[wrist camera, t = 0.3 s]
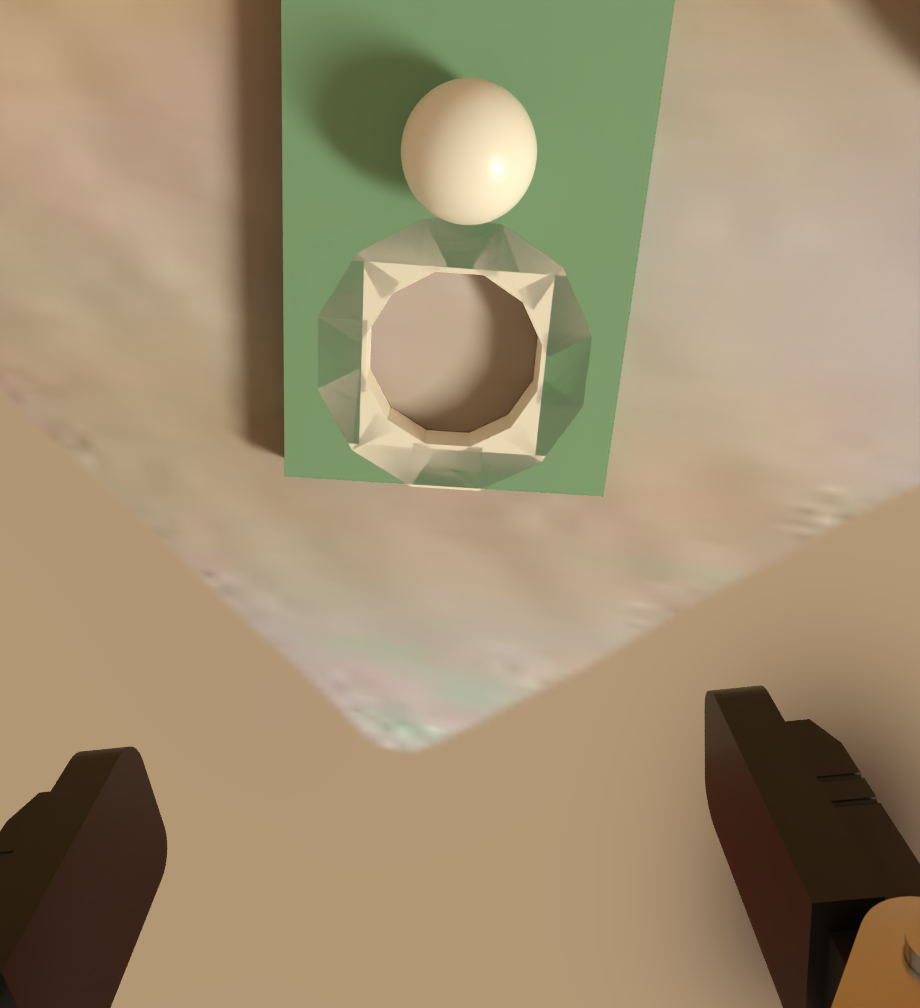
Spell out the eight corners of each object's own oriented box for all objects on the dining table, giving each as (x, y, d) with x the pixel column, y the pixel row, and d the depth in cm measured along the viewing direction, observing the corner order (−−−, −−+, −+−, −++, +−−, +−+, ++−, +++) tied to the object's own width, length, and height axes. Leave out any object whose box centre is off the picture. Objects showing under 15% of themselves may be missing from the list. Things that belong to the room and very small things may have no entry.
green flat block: (290, -66, 31) (280, -81, 29) (667, -34, 32) (681, -46, 30) (292, 463, 39) (284, 478, 37) (595, 482, 39) (603, 498, 37)
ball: (407, 78, 31) (399, 65, 27) (537, 89, 31) (551, 77, 27) (401, 216, 33) (393, 225, 28) (524, 225, 33) (535, 235, 29)
